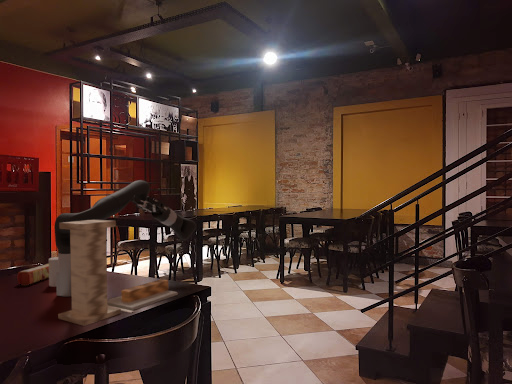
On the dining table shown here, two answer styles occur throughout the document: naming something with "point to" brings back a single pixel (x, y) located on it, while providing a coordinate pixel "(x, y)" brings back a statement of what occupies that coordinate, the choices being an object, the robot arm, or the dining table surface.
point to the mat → (140, 300)
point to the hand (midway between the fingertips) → (140, 198)
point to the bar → (144, 290)
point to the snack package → (33, 275)
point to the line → (123, 309)
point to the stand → (88, 272)
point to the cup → (53, 271)
